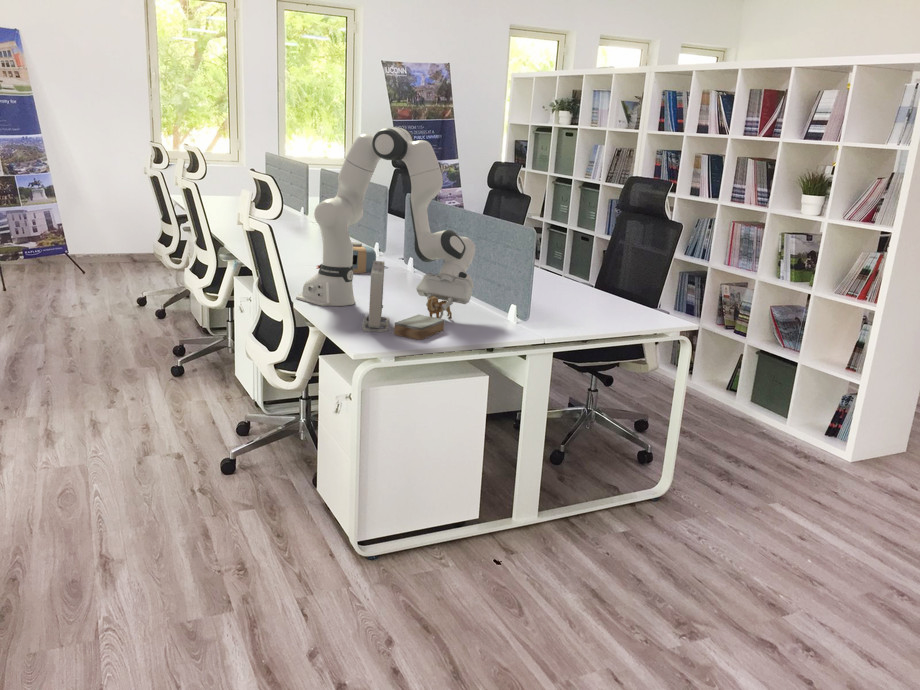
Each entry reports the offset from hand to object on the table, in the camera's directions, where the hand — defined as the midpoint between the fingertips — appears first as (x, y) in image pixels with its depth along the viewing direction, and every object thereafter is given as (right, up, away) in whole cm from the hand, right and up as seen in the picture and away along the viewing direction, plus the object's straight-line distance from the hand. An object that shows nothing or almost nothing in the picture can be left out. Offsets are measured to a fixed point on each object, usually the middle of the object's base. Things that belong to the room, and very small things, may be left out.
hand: (435, 307), depth 281 cm
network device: (-20, -6, -9) cm, 23 cm away
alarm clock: (-41, +22, +90) cm, 101 cm away
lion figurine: (+1, -5, +3) cm, 5 cm away
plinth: (-5, -9, -15) cm, 18 cm away
